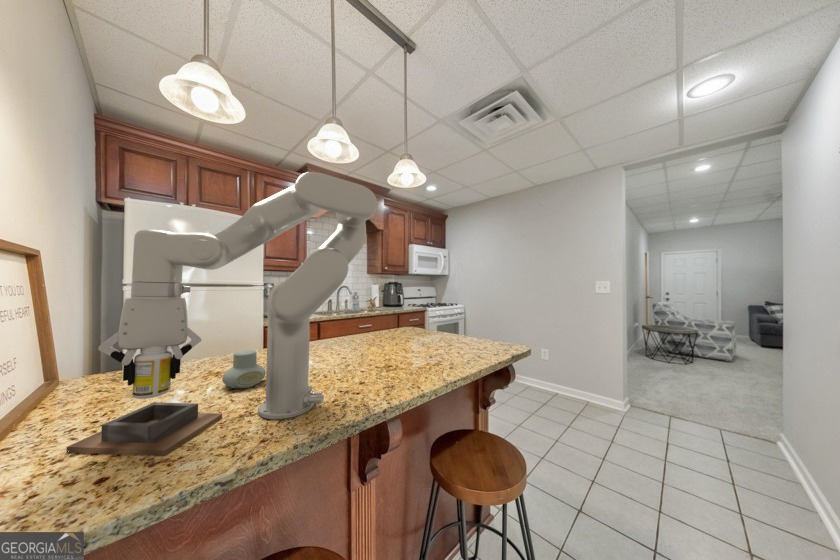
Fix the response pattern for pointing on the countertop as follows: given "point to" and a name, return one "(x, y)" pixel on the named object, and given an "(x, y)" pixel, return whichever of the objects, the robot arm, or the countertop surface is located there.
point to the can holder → (148, 430)
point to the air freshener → (244, 370)
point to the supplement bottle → (152, 372)
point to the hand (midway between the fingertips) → (152, 379)
